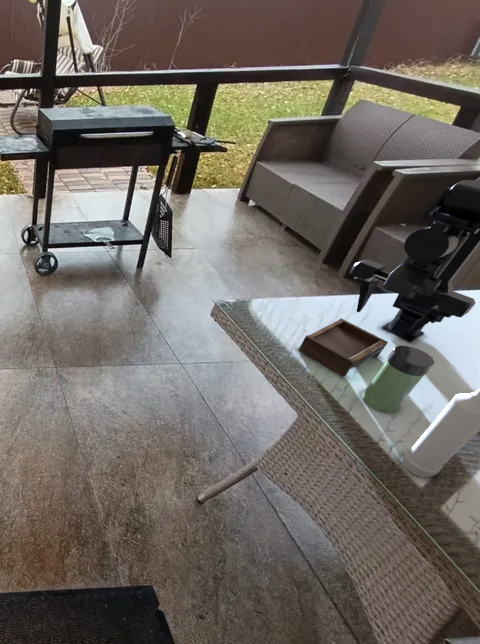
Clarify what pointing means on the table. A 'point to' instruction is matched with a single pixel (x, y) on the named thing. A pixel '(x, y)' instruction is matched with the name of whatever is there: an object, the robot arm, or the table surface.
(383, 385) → the spice jar
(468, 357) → the table surface
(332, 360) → the wooden tray
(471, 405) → the bottle
